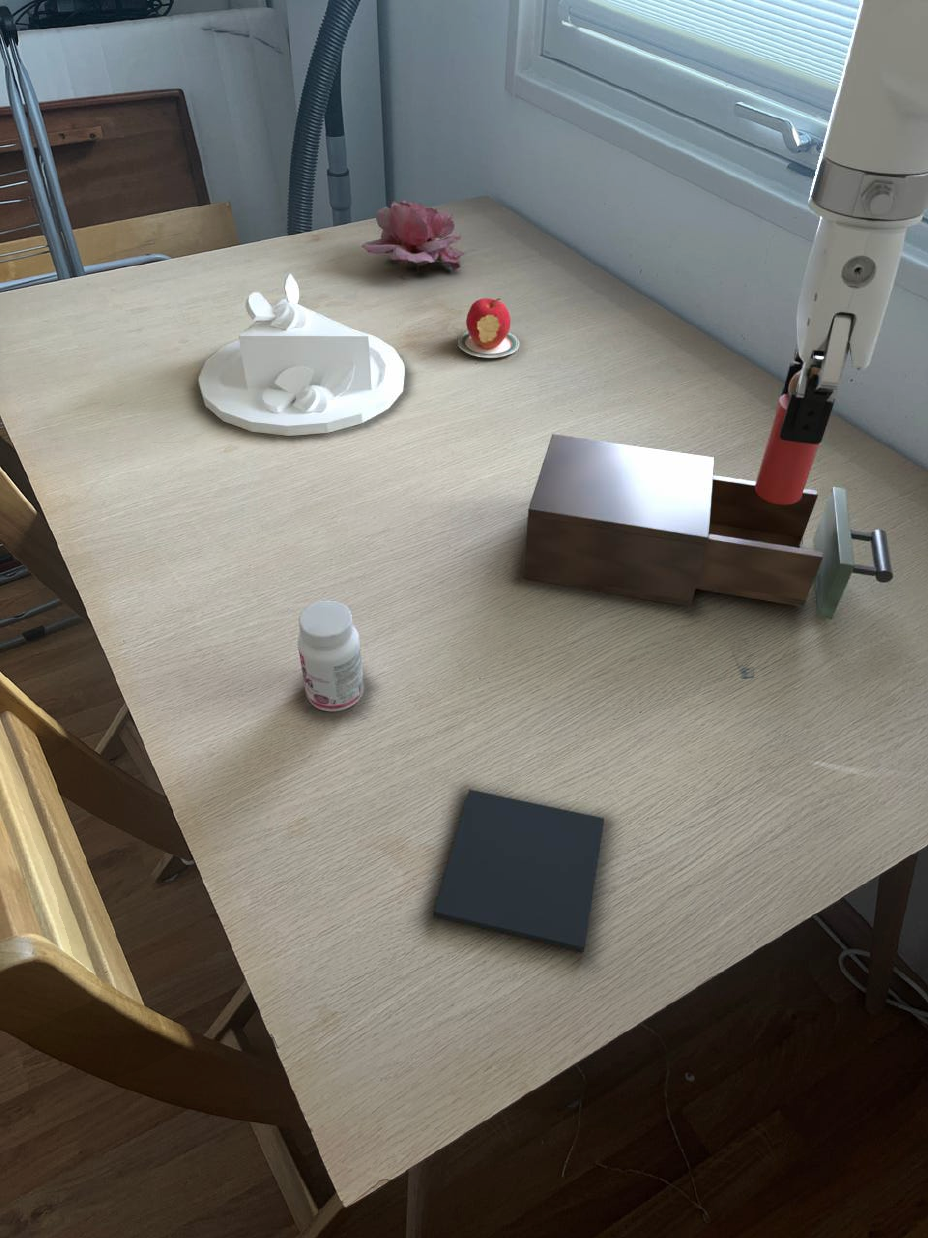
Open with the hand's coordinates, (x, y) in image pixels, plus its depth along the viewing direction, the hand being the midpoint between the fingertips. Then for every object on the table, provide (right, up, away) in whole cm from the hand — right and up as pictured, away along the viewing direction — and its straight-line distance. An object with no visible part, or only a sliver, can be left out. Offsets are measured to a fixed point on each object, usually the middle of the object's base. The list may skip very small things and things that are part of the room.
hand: (799, 423), depth 72 cm
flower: (-35, +37, +61) cm, 79 cm away
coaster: (-23, -33, -11) cm, 42 cm away
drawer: (+2, -11, +11) cm, 16 cm away
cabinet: (-13, -9, +14) cm, 21 cm away
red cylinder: (0, -5, +5) cm, 7 cm away
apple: (-24, +20, +44) cm, 54 cm away
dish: (-47, +13, +37) cm, 61 cm away
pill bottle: (-38, -22, 0) cm, 44 cm away
